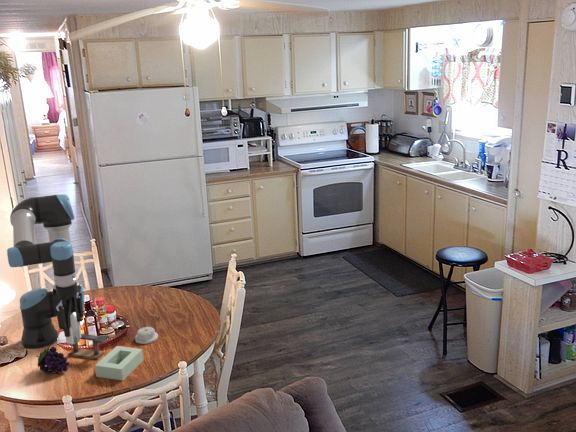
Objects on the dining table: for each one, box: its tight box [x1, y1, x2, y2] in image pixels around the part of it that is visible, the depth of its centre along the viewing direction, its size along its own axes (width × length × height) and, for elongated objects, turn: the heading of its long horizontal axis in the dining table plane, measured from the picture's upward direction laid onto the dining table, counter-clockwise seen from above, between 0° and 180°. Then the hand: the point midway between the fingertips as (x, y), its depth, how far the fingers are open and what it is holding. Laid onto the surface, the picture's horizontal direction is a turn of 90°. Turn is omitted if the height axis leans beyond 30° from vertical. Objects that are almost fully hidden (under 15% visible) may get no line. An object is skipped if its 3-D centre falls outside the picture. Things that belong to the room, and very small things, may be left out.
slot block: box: [94, 345, 145, 381], centre depth 227 cm, size 12×16×5 cm
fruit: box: [36, 344, 70, 374], centre depth 227 cm, size 10×11×15 cm
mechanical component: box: [134, 326, 159, 345], centre depth 251 cm, size 10×4×10 cm
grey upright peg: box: [66, 311, 81, 345], centre depth 212 cm, size 4×4×12 cm
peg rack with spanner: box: [68, 333, 110, 361], centre depth 237 cm, size 18×5×9 cm, turn 74°
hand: (73, 340), depth 214 cm, fingers closed on grey upright peg, 4 cm apart
